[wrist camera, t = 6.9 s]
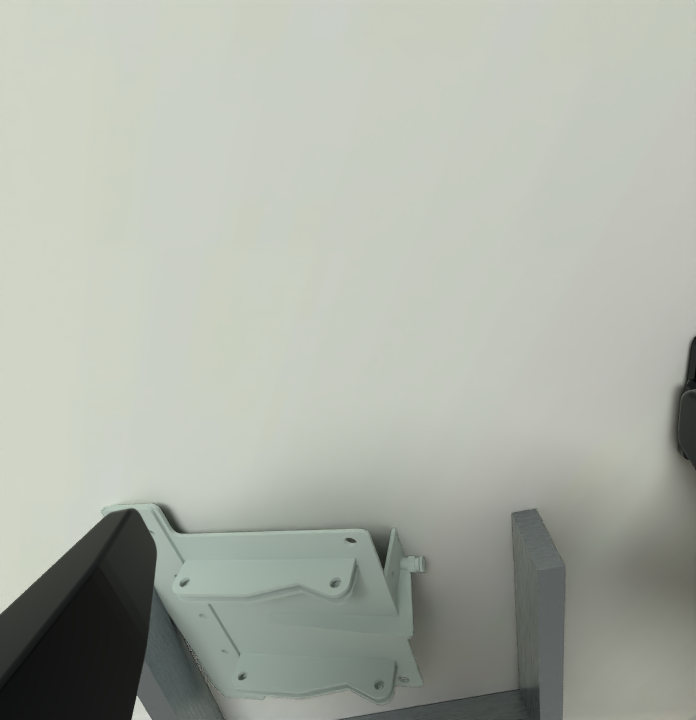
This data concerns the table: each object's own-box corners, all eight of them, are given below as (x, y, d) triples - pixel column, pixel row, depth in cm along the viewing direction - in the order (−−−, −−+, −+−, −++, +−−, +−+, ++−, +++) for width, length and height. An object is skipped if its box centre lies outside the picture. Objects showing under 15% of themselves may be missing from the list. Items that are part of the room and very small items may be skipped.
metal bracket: (366, 531, 20) (446, 749, 27) (390, 429, 25) (453, 636, 32) (54, 540, 24) (192, 724, 31) (126, 452, 29) (232, 629, 36)
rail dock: (535, 508, 27) (570, 577, 24) (539, 697, 35) (566, 771, 31) (128, 580, 28) (102, 658, 24) (219, 751, 35) (209, 829, 32)
